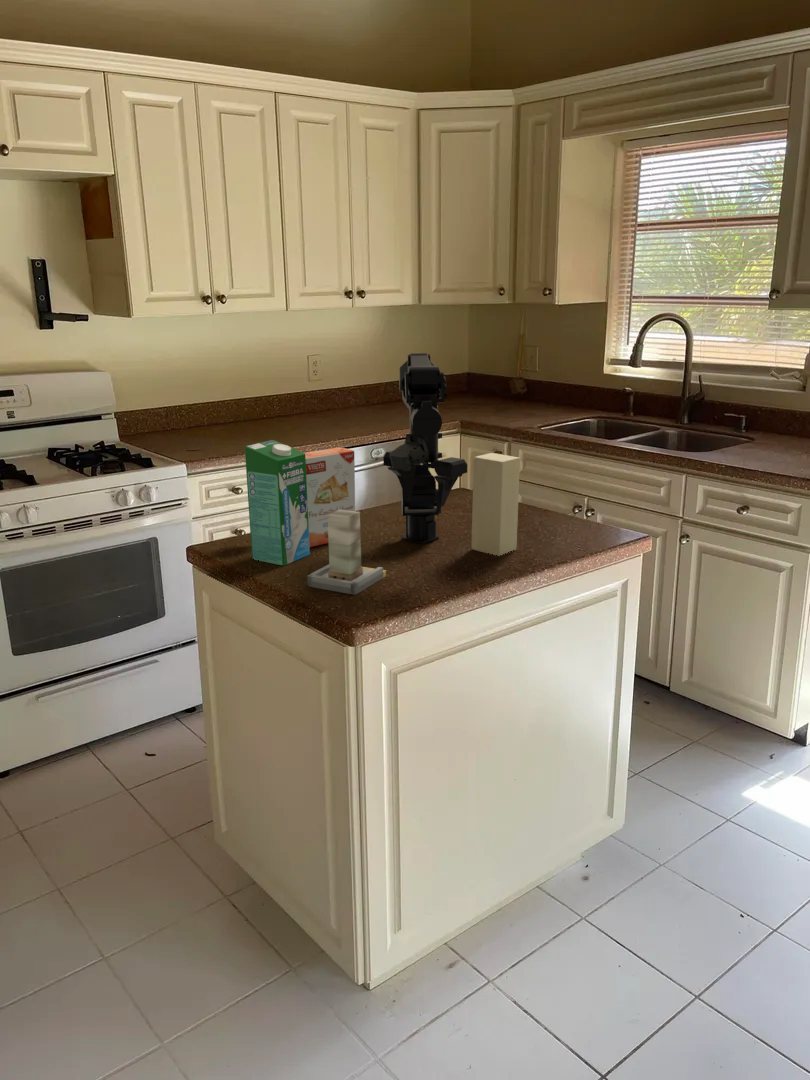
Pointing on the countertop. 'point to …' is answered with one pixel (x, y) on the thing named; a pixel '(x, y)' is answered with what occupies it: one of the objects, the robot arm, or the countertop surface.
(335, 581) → the pad
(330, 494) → the cracker box
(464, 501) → the countertop surface
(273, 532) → the milk carton
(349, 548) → the pale banded rectangular block
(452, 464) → the robot arm
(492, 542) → the tall cream block
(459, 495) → the countertop surface
